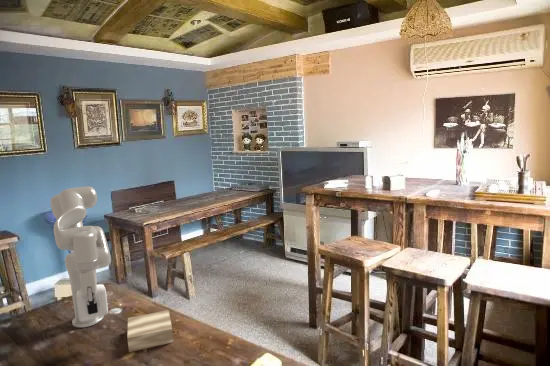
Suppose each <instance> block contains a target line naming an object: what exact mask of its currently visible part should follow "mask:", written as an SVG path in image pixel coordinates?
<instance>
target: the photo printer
mask: <svg viewBox="0 0 550 366" xmlns="http://www.w3.org/2000/svg"><path fill="white" fill-rule="evenodd" d="M92 295H94V294H92ZM107 297H108V296H107V290H106V287H105V285H104V284H98V283H97V295H96V296H95V299H96V302H97V309H98V312H97V313H94V314H88V308H87V304H88V303H87V295H86V298H82V290H81V289H80V290H78V291H77V294H76V300H77V308H78V316H79V321H85V320H89V319H92V318H96V317H100V316H103V315H104V316H106V315H108V314H109V308H108V307H109V305H108V298H107ZM92 298H93V299H94V297H92Z"/></svg>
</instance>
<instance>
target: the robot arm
mask: <svg viewBox="0 0 550 366" xmlns="http://www.w3.org/2000/svg"><path fill="white" fill-rule="evenodd" d="M97 202H98V195H97V191H96V190H95V188H94V187H92V186H89V185H87V186H80V187H79V186H78V187H70V188H66V189H63V190H62V191H60V193H59V194H55V195H54V196H52V197H51V199H50V207H51V211H52V214H53V215H54V217H55V219H56V220H55V222H54V225H53V235H54V240H55V244H56V247H57V248H58V249H59V250H62V251H66V250H68V251H69V252H70V253H68V254H67V255H66V256H65V259H64V264H65V267H66V270H67V275H68V278H69V281H70V288H71V289H70V290H71V296H72V302H73V309H74V310H73V311H74V316H75V317H74V318H72V320H71V322H72V323H71V324H72V326H73V327H74V328H87V327H90V326H94V325H96V324H98V323H100V322H102V320H103V319H104V318H105V315H103V316H100V317H96V318H92V319H89V320H85V321H79V316H78V308H77V300H76V294H77V291H78V290H80V289H81V290H82V298H86V295H87V303H88V304H87V308H88V314H94V313H97V312H98V309H97V302H96V299H95V296H96V295H97V284H98V277H97V270H99V269H103V268H106V267H108V266H110V264H111V262H112V256H111V252H110V248H109V245H108V241H107V237H106V235H105V232H104V229H103V228H102V227H100V226H98V225H94V226H93V225H84V224H83V220H84V219H85V217H87V209H92V208H94V206H96V204H97ZM92 294H94V295H92ZM92 297H94V299H93V298H92Z"/></svg>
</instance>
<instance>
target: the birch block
mask: <svg viewBox="0 0 550 366" xmlns="http://www.w3.org/2000/svg"><path fill="white" fill-rule="evenodd" d="M126 340H127V345H128V347H127V348H128V353H131V352H136V351H140V350H145V349H149V348H153V347H154V348H155V347H158V346H162V345H166V344H167V345H168V344H170V343H174V336H173V328H172V320H171V315H170V309H165V310H161V311H156V312H153V313H147V314H146V313H145V314H142V315H141V314H140V315H136V316H132V317H128V318H127V339H126Z"/></svg>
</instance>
